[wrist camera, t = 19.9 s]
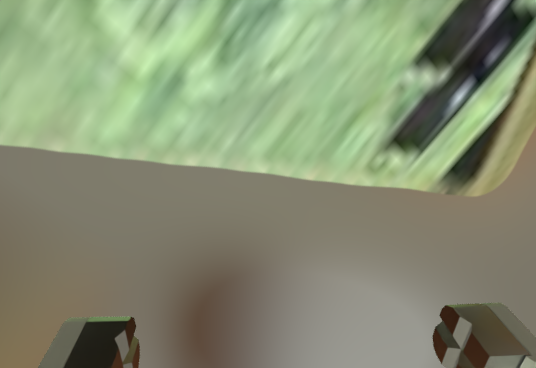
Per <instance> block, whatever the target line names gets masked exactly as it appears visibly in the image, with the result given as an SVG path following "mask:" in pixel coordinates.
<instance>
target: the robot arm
mask: <svg viewBox="0 0 536 368" xmlns="http://www.w3.org/2000/svg"><path fill="white" fill-rule="evenodd" d="M440 318H441V319H442V322H441V323H440V324H439V325H438V326H436V327H435V329H434V333H433V346H434V350H435V353H436V355H437V357H438V359H439V361H440V362H441V364H442V365H443V366H445V367H446V368H536V337H535V336H534V335H533V334H532V333H531V332H530V331H529V330H528V329H527V328H526V327H525V326H524V325H523V323H522V322H521V321H520V320H519V319H518V318H517V317H516V316H515V315H514V314H513V313H512V312H511V311H510V310H509V309H508V307H506V306H505V305H503V304H501V303H483V304H457V305H445V306H444V307H443V308H442V310H441V312H440ZM135 330H136V323H135V319H134V317H90V318H69V319H67V321H65V322H64V323H63V325H62V326H61V328H60V330H59V332H58V334H57V335H56V337H55V339H54V340H53V342H52V344H51V346H50V347H49V349H48V351H47V353H46V354H45V356H44V358H43V360H42V361H41V363H40V365H39V367H38V368H138V367H139V359H140V345H139V340H138V339H137V338H136V337H135V336H134V333H135Z"/></svg>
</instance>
